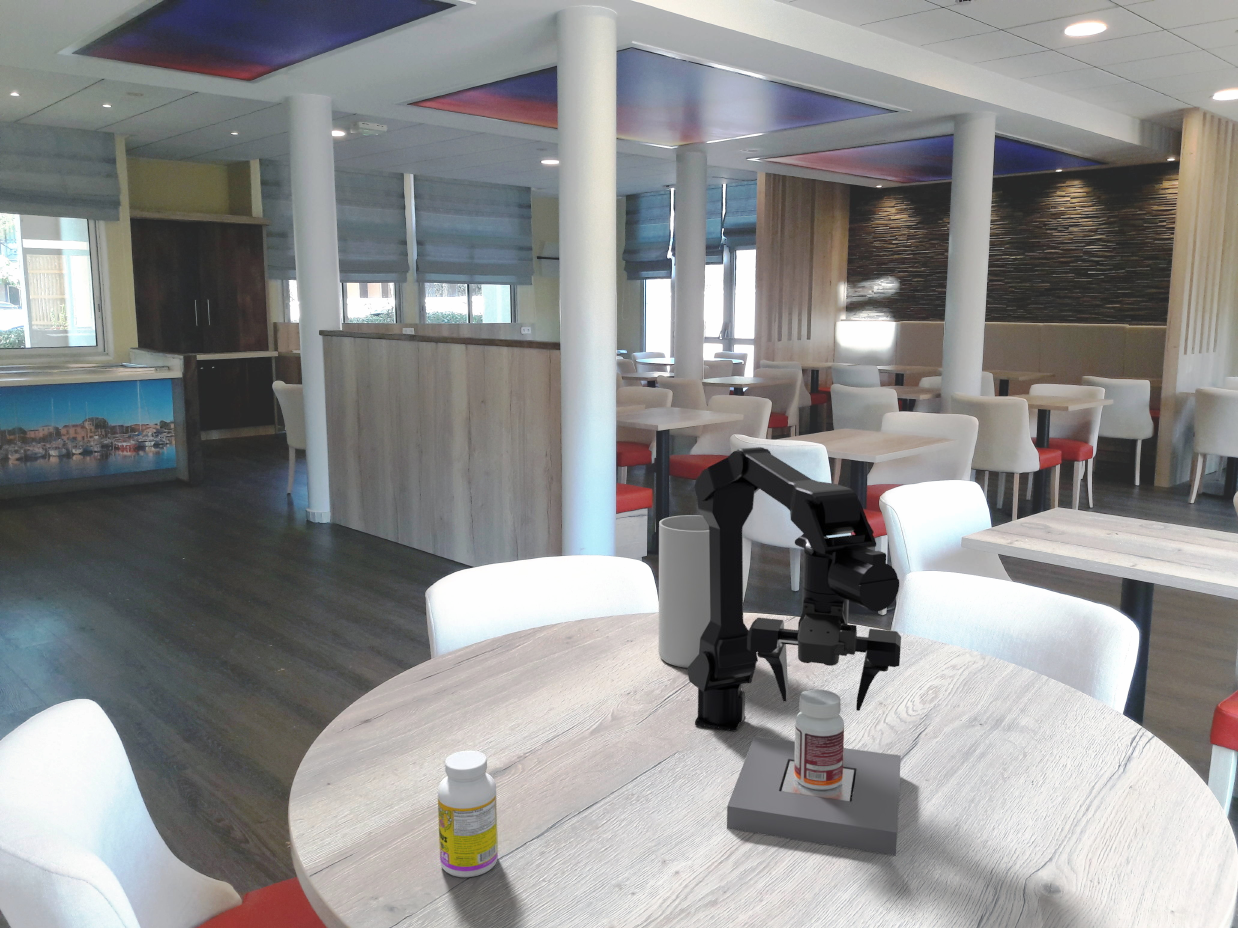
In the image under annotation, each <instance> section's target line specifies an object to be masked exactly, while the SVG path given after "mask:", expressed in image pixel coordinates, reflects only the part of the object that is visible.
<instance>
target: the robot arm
mask: <svg viewBox="0 0 1238 928" xmlns="http://www.w3.org/2000/svg"><path fill="white" fill-rule="evenodd" d="M759 490H760V491H762V492H764V493H765V494H766V495H768V496H769V497H771V498H772V499H774V500H776V501H777V502H779V503H780V504H781V505H782V506H784V507H785V508H786V509H787V510H788V511H789V515H790V517H789V518H790V521H791V523H793V524H794V525H795V526H796V528H797V529H798V530H800V531H801V533H802V535H800V536H799V537H797V538H796V539H795V540H794V544H795V546H797V547H800V548H802V549H803V568H802V593H801V595H802V598H801V601H802V602H801V615H800V618H799V620H798V623H797V624H798V627H797V629H793V628H790V629H789V628H785V622H784V619H779V618H778V619H775V618H766V617H757V618H755V619H754V620H753V621H752V622H751V623H752V624H751V625H750V627H749V628H748V627H747V626H746V624H745V622H744V569H743V568H744V566H743V565H744V563H743V562H744V560H743V559H744V557H743V555H744V554H743V550H744V549H743V528H744V526H745V524H746V522H747V520H748V518H749V516H750V515H751V514H752V511H753V510H754V503H755V501H754V500H755V494H756V493H757V492H758V491H759ZM694 491H695V495H696V499H697V509H698V511H699V513H700V514H701V516H703V517H704V519H705V520H706V522H707V524H708V525H709V553H710V622H709V624H708V625H707V627H706V629H705V631H704V632H703V634H702V636H701V638H700V647H699V654H698V656H697V657H696V658H695V659H694V661H693V662H692V663H691V664H690V665H689V667H688V668H687V676H688V681H689V683H690V684H692V685H693V686H695V688H697V717H696V719H695V721H694V726H697V727H703V728H711V729H719V730H726V731H738V729H739V726H740V724H741V723H742V722H743V721H744V719H745V717H746V712H745V711H746V692H745V690H742V689H743V685H744V684H751V683H752V681H753V677H754V674H755V670H756V667H757V662H758V661H759V658H761V659H764V660H765V661H766V662H767V663H768V664H769V666H770V668H771V670H772V672H773V674H774V676H775V680H776V682H777V686H778V689H779V692H780V695H781V699H782V701H783V702H785V703H786V702H787V700H788V696H789V695H788V693H789V680H788V679H789V678H788V675H789V674H788V662H787V661H788V659H787V645H792V646H797V657H798V660H799V662H801V663H802V664H811V663H814V664H822V665H825V666H835V665H838V663H839V661H840V656H843V657H847V655H852V656H855V655H856V653H863V654H864V655H865V656H864V660H863V665H862V669H861V670H862V671H861V676H860V682H859V686H858V692H857V696H856V709H855V711H856V712H857V711H861V708H862V706H863V704H864V701H865V699H866V696H867V693H868V692H869V691H868V690H869V689H870V686H871V684H872V682H873V681H874V679H875V677H876V676H877V675H878V674H879V672H883V673H884V672H887V671H889V667H891V668H897V667H900V665H901V664H900V663H901V648H902V647H901V645H902V635H900V634H899V632H898V631H897V630H886V629H878V628H869V629H868V636H860V635H859V636H858V635H857V632H858V630H857V625H856V624H849V603H850V602H851V603H853V604H855V605H858V606H860V607H863V608H864V609H867V610H869V611H872V612H881V611H884V610H886V609H887V608H888V607H890V606H891V604H892V603H893V602H894V601H895V600H896V597H897V595H898V592H899V591H900V590H899V589H900V579H899V578H898V574H897V572H896V570H895V569H894V568H893V566H891V564H888V563H887V553H886V552H884V551H880V550H873V549H870V548H876V547H877V540H876V539H875V536H874V530H873V528H872V526H871V524H870V523H869V521H868V518H867V515H866V513H865V510H864V508H863V506H862V503H861V501H860V499H859V495H858V494H857V492H855V491H854V490H853V489H852V488H850V487H846V486H843V485H840V484H837V483H831V482H825V481H818V480H814V479H812V478H811V477H809V476H807V475H805V474H804V473H802V472H800V470H798V469H795V468H794V467H792V466H791V465H789V464H788V463H786V462H784V461H783V460H781V459H780V458H777V456H774V455H773V454H772V453H771V451H770V450H769V449H768V448H765V447H761V446H758V447H743V448H738V449H736V450H734V451H732V452H731V453H730V454H729V455H728V456H727V457H725V458H724V459H721V460H719V461H718V462H715V463H713V464H711V465H710V466H708V467H707V468H705V469H703V470H702V471H701V473H700V475H699V476H697V477H696V480H695V483H694ZM852 533H854V534H852ZM845 534H849V535H845ZM850 534H851V535H850ZM838 535H841V536H838ZM829 536H832V537H829ZM849 601H850V602H849Z"/></svg>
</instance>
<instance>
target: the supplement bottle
mask: <svg viewBox="0 0 1238 928" xmlns="http://www.w3.org/2000/svg"><path fill="white" fill-rule="evenodd" d="M487 758H488V757H487V756H486V754H485V753H483V752H481V751H477V750H462V751H461V750H460V751H457V752H454V753H452V754H450V755H449V756H447V758H445V761H444V763H445V764H444V766H445V767H444V772H445V774H446V776H445V777H444V778H443V779H442V780H441V782H440V783H439V784H438V788H437V813H438V816H437V817H438V841H439V843H438V844H439V860H440V866H441V867H442V869H443V870H444V871H445V872H446V873H447V874H449V875H451V876H453V877H458V878H471V877H472V878H473V877H478V876H480V875H484V874H485V873H487V872H488V871H490V870H491V869H493V868H494V867H495V865H496V864H497V861H498V857H499V845H498V844H499V841H498V840H499V839H498V836H499V835H498V812H497V811H498V810H497V809H498V808H497V806H498V804H497V802H498V801H497V783H496V781H495V779H494V778H493V777H492V775H490V774H489V773H487V770H488V759H487Z"/></svg>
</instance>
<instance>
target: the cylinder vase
mask: <svg viewBox="0 0 1238 928" xmlns="http://www.w3.org/2000/svg"><path fill="white" fill-rule="evenodd" d="M658 524H659V525H658V526H659V527H658V645H657V646H658V651H657V652H658V655H659V657H660V659H661V660H662V661H664V662H665V663H667V664H668V665H672V666H675V667H678V668H685V669H688V667H689V665H690V664H691V663H692V662H693V661H694V659H695V658H696V657H697V656H698V654H699V647H700V638H701V636H702V634H703V632H704V631H705V629H706V627H707V625H708V624H709V622H710V553H709V525H708V524H707V522H706V520H705V519H704V517H703V516H702V515H694V514H693V515H691V514H690V515H686V514H685V515H676V516H674V515H673V516H669V517H665V518H663V519H661V520H660V521H659V523H658Z"/></svg>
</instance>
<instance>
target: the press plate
mask: <svg viewBox="0 0 1238 928" xmlns="http://www.w3.org/2000/svg"><path fill="white" fill-rule="evenodd" d="M749 746H750V747H749V749H748V752H747V754H746V757H745V759H744V761H743V764H742V766H741V769H740V772H739V774H738V777H737V780H736V783H735V785H734V788H733V790H732V793H731V795H730V798H729V800H728V803H727V805H726V806H727V807H726V830H727V829H728V830H733V831H734V830H735V831H739V832H746V833H750V834H751V833H752V834H758V835H764V836H770V837H776V838H780V839H781V838H783V839H789V840H794V841H800V842H801V841H802V842H806V843H807V842H808V843H812V844H818V845H819V844H820V845H826V846H831V847H836V848H837V847H838V848H843V849H850V850H857V851H862V852H870V853H874V854H879V855H886V856H893V857H897V845H898V844H897V843H898V841H897V840H898V825H899V823H898V822H899V805H900V804H899V801H900V781H901V780H900V779H901V759H902V758H901V757H902V756H901V755H899V754H892V753H885V752H877V751H869V750H861V749H856V748H855V749H854V748H845V747H844V751H843V768H844V769H851V770H854V785H853V796H852V802H849V801H842V800H835V799H829V798H822V797H815V796H809V795H802V794H795V793H788V792H782V787H783V784H784V780H785V777H786V773H787V770H788V766H789V763H790V761H793V762H795V740H794V741H793V740H788V739H779V738H773V737H772V738H771V737H766V736H763V737H762V736H757V735H754V736H753V738H752V741H751V744H750V745H749Z"/></svg>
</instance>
